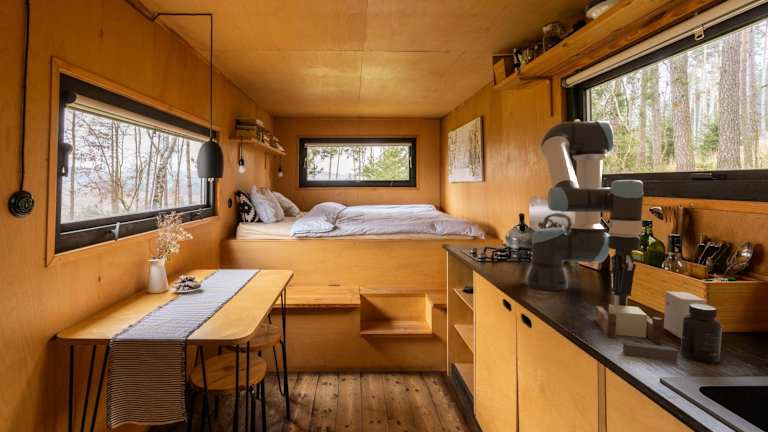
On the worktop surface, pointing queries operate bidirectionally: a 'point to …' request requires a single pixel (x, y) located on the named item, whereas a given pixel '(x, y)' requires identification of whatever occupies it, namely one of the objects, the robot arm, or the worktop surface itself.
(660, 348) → the bar
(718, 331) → the supplement bottle
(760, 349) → the worktop surface
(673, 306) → the small box
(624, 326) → the block
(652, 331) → the chute
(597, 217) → the robot arm
